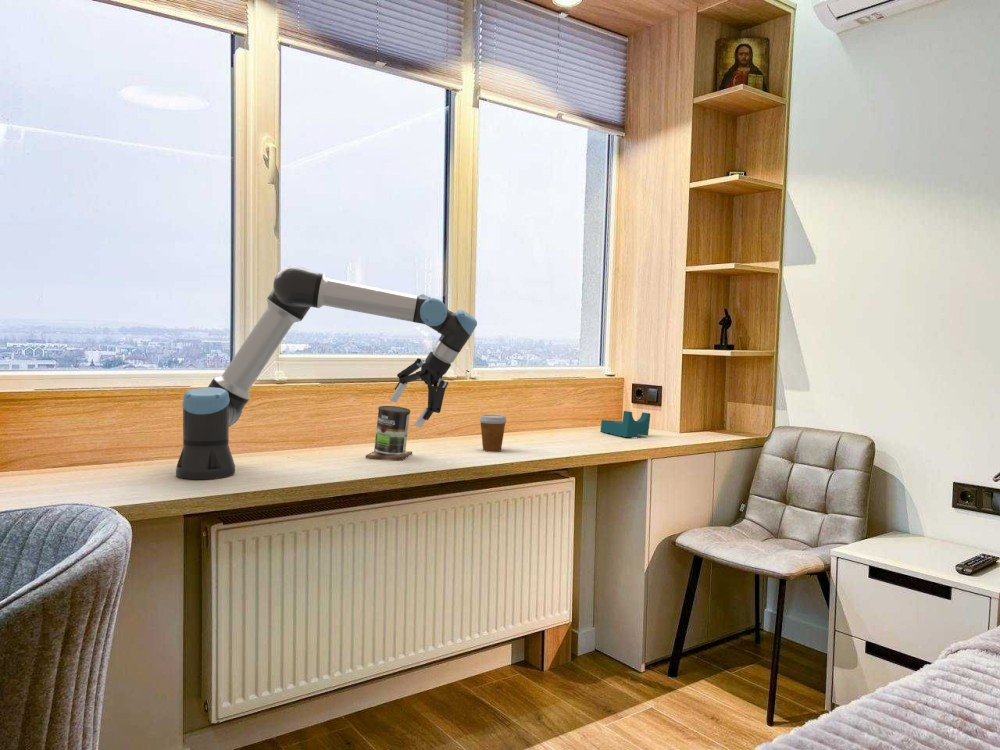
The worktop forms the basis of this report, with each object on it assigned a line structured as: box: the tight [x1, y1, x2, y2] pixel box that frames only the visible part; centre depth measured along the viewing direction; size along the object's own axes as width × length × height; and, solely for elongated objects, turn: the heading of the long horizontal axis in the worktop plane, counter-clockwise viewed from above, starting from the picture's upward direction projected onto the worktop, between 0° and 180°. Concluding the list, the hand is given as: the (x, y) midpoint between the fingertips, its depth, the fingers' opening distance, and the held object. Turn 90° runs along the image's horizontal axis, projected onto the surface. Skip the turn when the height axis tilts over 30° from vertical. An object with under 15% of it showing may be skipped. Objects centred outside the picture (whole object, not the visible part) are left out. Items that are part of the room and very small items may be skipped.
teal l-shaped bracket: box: [599, 410, 651, 438], centre depth 309 cm, size 18×11×10 cm, turn 28°
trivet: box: [365, 450, 413, 461], centre depth 242 cm, size 12×12×1 cm
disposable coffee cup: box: [478, 414, 508, 452], centre depth 260 cm, size 10×10×12 cm
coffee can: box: [373, 405, 411, 455], centre depth 241 cm, size 10×10×14 cm
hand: (404, 413), depth 231 cm, fingers open, 13 cm apart
